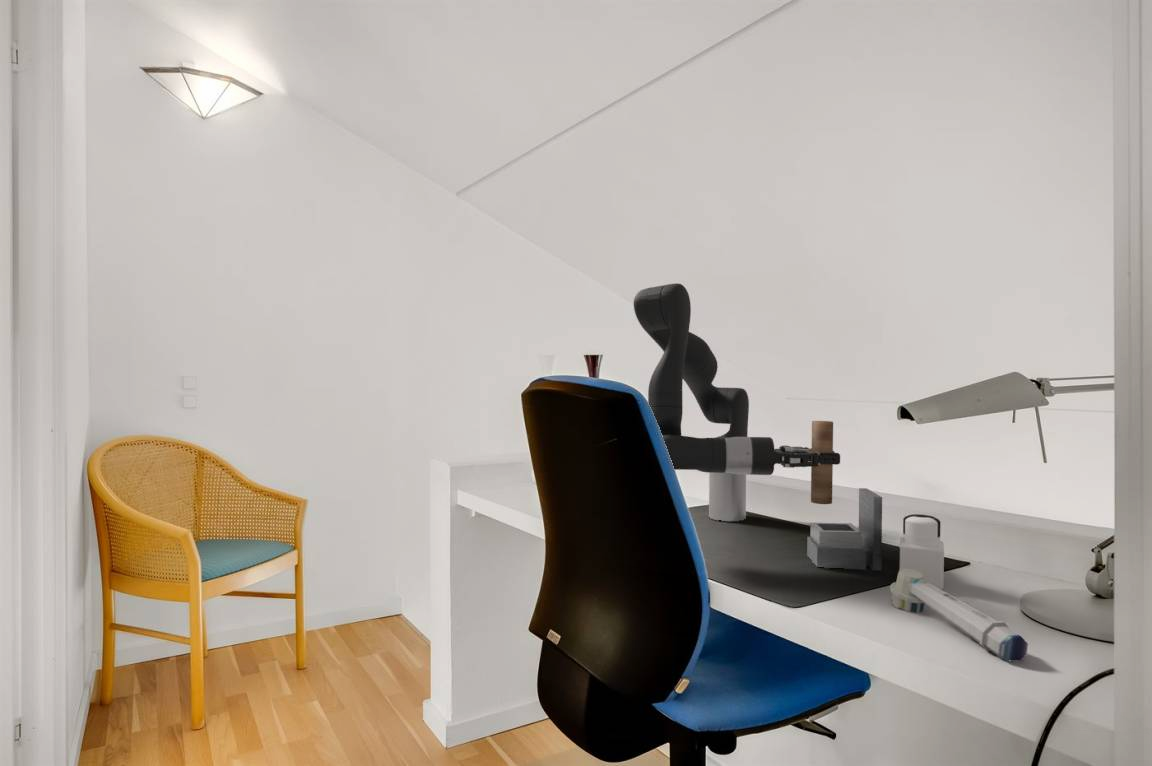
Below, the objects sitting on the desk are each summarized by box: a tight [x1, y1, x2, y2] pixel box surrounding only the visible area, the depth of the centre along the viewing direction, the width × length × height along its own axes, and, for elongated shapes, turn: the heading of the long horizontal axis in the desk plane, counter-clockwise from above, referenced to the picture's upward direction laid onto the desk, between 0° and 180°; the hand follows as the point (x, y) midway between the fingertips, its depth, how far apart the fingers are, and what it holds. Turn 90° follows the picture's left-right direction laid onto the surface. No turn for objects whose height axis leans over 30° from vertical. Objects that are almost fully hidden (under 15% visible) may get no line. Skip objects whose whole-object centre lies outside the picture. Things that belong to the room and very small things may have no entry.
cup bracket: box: [806, 487, 883, 572], centre depth 144 cm, size 10×12×14 cm
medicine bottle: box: [898, 513, 945, 591], centre depth 131 cm, size 7×7×12 cm
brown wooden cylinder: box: [810, 420, 834, 505], centre depth 144 cm, size 4×4×16 cm
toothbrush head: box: [889, 568, 1029, 662], centre depth 109 cm, size 5×7×25 cm
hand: (836, 457), depth 144 cm, fingers closed on brown wooden cylinder, 4 cm apart
